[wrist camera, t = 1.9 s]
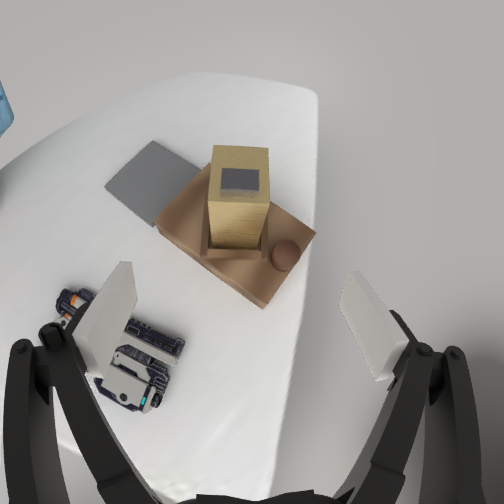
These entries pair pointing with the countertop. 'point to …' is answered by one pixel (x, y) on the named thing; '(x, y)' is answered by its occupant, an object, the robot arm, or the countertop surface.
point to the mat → (151, 181)
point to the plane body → (235, 260)
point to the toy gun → (130, 359)
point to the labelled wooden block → (238, 196)
